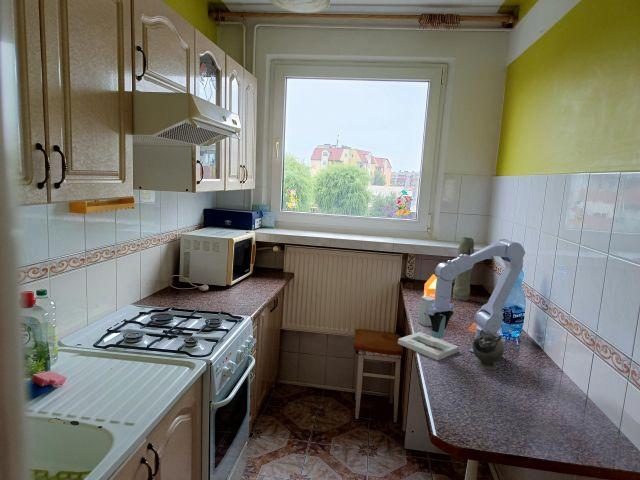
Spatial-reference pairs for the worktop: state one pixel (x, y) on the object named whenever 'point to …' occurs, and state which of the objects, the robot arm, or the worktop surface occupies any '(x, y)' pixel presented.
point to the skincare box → (425, 310)
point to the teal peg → (440, 329)
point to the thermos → (463, 279)
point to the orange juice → (430, 287)
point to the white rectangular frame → (421, 348)
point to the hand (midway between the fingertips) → (438, 330)
